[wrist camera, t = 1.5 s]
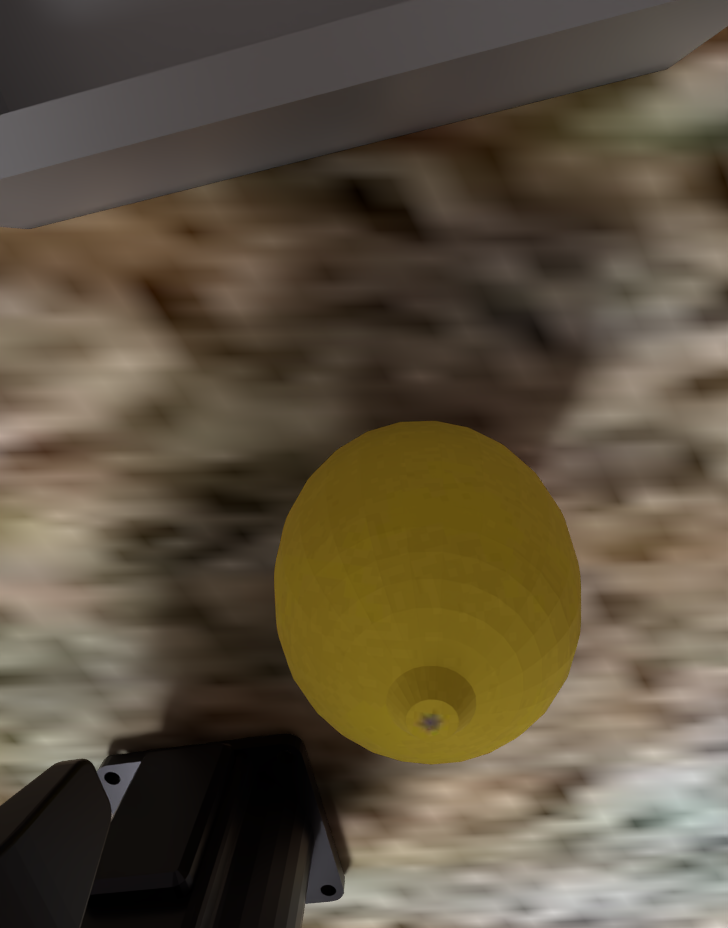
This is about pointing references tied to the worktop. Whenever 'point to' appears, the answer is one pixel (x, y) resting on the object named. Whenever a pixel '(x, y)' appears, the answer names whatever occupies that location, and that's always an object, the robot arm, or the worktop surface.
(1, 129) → the box
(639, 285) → the worktop surface
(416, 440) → the lemon
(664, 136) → the worktop surface
